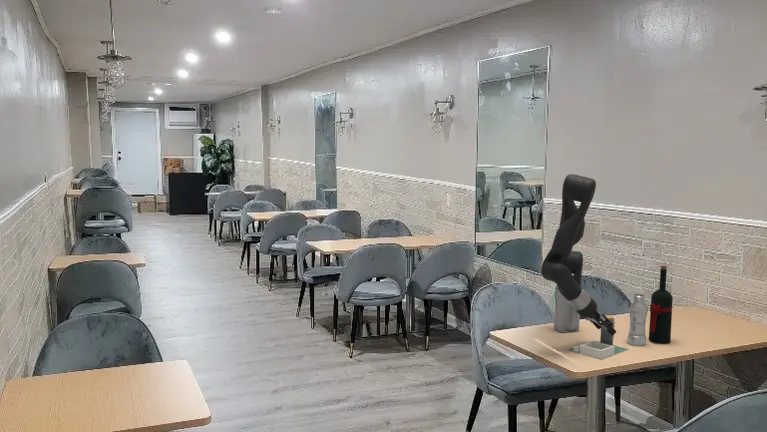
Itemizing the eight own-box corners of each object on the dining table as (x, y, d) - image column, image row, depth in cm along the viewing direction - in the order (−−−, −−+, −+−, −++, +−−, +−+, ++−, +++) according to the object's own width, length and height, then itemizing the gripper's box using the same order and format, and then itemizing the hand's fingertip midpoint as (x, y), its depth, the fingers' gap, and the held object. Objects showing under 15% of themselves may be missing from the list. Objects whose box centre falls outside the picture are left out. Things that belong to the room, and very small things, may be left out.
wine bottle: (641, 341, 251) (645, 265, 248) (655, 337, 257) (659, 263, 254) (660, 346, 245) (665, 269, 242) (674, 341, 251) (678, 266, 248)
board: (566, 353, 235) (567, 341, 235) (595, 343, 247) (595, 332, 247) (601, 362, 225) (601, 351, 224) (629, 352, 237) (629, 341, 236)
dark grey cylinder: (604, 348, 237) (606, 318, 236) (597, 345, 241) (599, 315, 240) (616, 348, 238) (618, 317, 237) (609, 344, 242) (610, 314, 241)
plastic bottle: (623, 344, 247) (626, 293, 245) (640, 343, 248) (643, 293, 246) (631, 349, 241) (634, 297, 239) (649, 349, 241) (651, 297, 239)
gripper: (599, 298, 228) (625, 328, 232) (577, 290, 242) (602, 318, 246) (585, 314, 227) (612, 343, 232) (564, 304, 241) (589, 332, 245)
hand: (607, 330), depth 239 cm, fingers open, 8 cm apart
